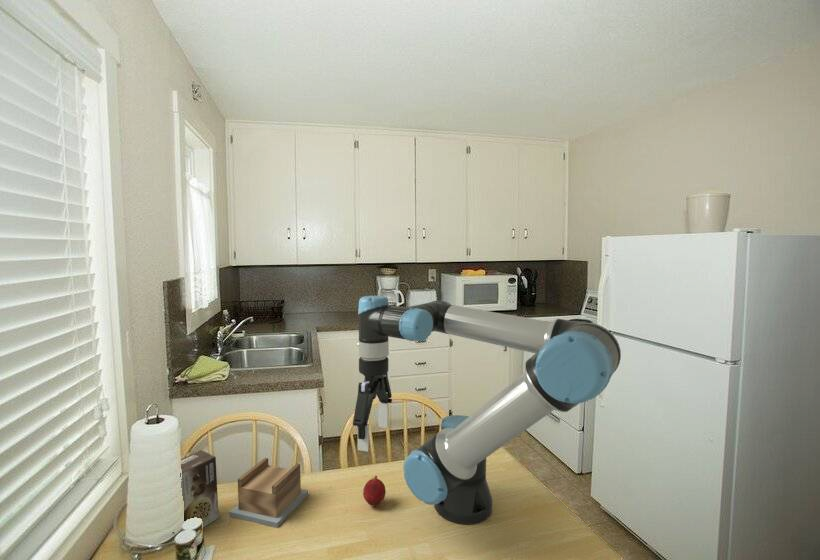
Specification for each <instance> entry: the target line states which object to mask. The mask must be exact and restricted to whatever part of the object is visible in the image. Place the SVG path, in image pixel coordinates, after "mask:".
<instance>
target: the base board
mask: <svg viewBox="0 0 820 560" xmlns="http://www.w3.org/2000/svg"><path fill="white" fill-rule="evenodd" d="M308 496H309V490H308V489H305V488H304V489H303V488H301V493H300V494H299V495H298V496H297V497H296V498H295V499H294V500H293V501H292V502H291V503H290V504H289V505H288V506H287V507H286V508H285V509H284V510H283V511H282V513H281V514H280V515H279V516H278V517H277V518H274V517H269V516H265V515H260V514H256V513H252V512H247V511H243V510H239V507H238V504H236V505H235V506H234V507H233V508H232V509H230V511H228V517H231V518H234V519H239V520H244V521H247V522H252V523H256V524H259V525H264V526H268V527H273V528H276V529H277V528H279V527H280V526H281V524H283V522H284V521H286V519H287V518H288V517H289V516H290V515H291V514H292V513H293V512H294V511H295V510H296V509H297V507H298V506H299V505H300V504H301V503H302V502H303V501H304V500H305V499H306V498H307V497H308Z"/></svg>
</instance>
